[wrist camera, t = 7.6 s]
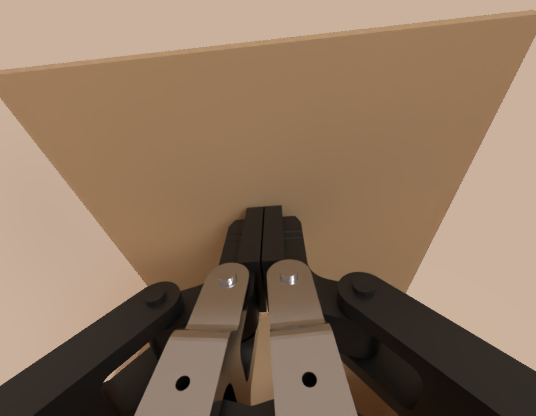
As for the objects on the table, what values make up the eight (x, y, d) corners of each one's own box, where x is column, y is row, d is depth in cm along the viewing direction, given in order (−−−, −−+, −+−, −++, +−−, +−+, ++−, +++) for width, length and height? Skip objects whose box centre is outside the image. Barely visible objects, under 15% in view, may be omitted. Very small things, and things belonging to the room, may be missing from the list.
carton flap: (400, 304, 17) (397, 296, 17) (546, 13, 7) (532, 10, 7) (168, 312, 18) (170, 305, 18) (-17, 76, 8) (-4, 70, 8)
